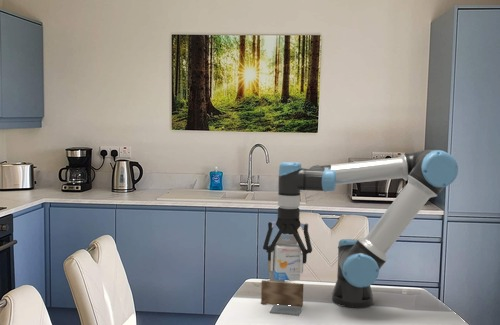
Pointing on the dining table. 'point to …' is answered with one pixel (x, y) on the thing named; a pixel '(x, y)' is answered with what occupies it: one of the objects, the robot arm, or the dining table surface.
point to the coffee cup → (272, 271)
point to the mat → (286, 309)
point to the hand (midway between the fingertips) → (286, 271)
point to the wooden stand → (282, 293)
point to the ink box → (286, 259)
